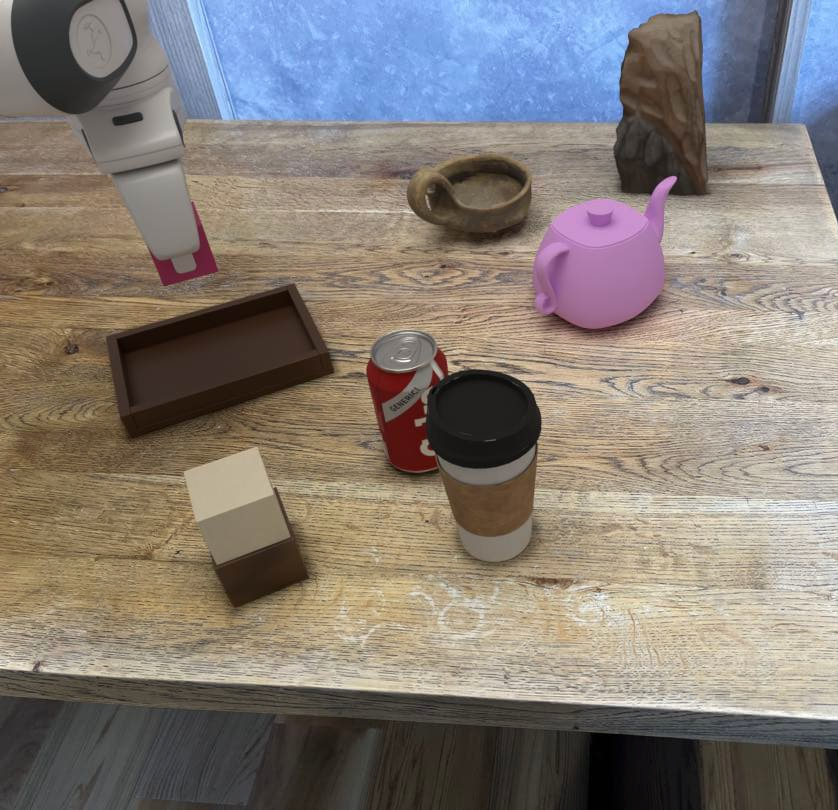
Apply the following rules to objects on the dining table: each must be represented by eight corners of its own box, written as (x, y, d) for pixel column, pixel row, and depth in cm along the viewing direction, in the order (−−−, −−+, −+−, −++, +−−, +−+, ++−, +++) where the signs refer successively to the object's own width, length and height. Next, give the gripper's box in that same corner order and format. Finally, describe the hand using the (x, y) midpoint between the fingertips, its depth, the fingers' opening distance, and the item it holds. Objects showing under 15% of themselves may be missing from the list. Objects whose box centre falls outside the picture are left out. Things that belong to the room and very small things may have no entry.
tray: (130, 438, 78) (119, 417, 76) (115, 357, 87) (105, 336, 85) (334, 372, 84) (328, 351, 82) (300, 303, 93) (294, 282, 91)
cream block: (217, 565, 60) (195, 522, 57) (204, 514, 64) (183, 471, 60) (290, 537, 62) (274, 493, 58) (273, 489, 65) (257, 445, 62)
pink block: (163, 286, 75) (144, 239, 72) (156, 261, 78) (137, 214, 75) (219, 271, 77) (202, 224, 73) (209, 247, 80) (193, 201, 76)
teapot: (579, 362, 84) (579, 264, 76) (499, 306, 92) (492, 212, 84) (709, 286, 93) (722, 192, 85) (627, 241, 101) (631, 151, 93)
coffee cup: (467, 486, 72) (448, 353, 62) (559, 507, 70) (555, 373, 59) (429, 561, 66) (401, 428, 56) (528, 586, 64) (518, 452, 54)
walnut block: (233, 608, 63) (214, 569, 60) (219, 553, 67) (200, 513, 64) (309, 578, 65) (294, 538, 62) (291, 526, 69) (276, 486, 66)
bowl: (558, 219, 105) (556, 145, 99) (453, 274, 97) (443, 197, 90) (488, 184, 113) (482, 114, 106) (385, 232, 104) (371, 159, 98)
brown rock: (611, 194, 110) (615, 39, 96) (615, 152, 119) (619, 5, 105) (707, 196, 108) (724, 39, 95) (703, 153, 118) (719, 5, 104)
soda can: (374, 471, 73) (348, 369, 65) (401, 420, 78) (380, 319, 70) (445, 483, 72) (428, 380, 64) (468, 431, 77) (455, 329, 69)
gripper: (75, 73, 73) (132, 212, 82) (94, 164, 59) (160, 318, 69) (148, 60, 75) (196, 196, 84) (183, 144, 61) (236, 296, 71)
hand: (181, 252), depth 76 cm, fingers closed on pink block, 5 cm apart
